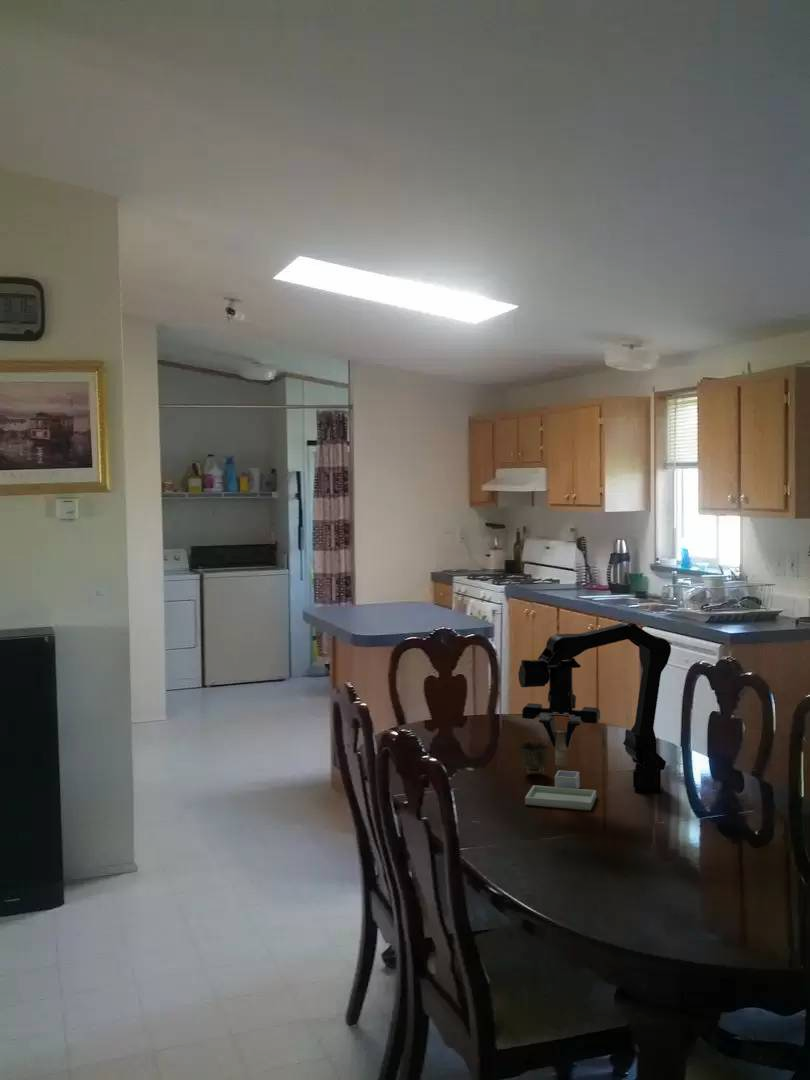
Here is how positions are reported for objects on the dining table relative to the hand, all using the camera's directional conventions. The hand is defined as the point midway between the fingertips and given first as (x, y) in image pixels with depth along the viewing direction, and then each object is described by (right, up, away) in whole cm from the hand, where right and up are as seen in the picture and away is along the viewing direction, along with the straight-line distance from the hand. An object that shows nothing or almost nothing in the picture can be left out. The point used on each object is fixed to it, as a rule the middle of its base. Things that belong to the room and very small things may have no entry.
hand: (561, 747), depth 234 cm
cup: (-4, -12, +20) cm, 24 cm away
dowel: (0, -4, 0) cm, 4 cm away
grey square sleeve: (+3, -12, +6) cm, 14 cm away
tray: (0, -13, -2) cm, 13 cm away
